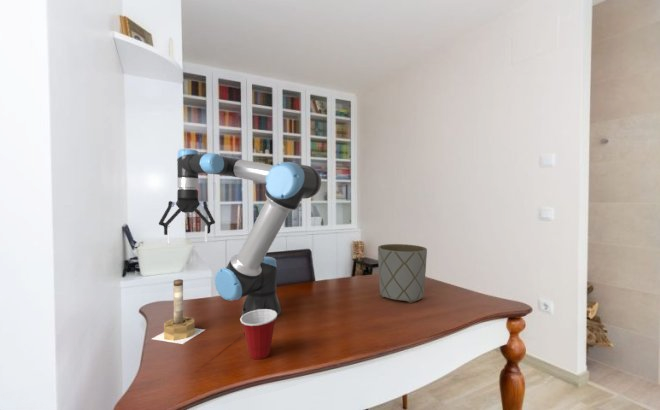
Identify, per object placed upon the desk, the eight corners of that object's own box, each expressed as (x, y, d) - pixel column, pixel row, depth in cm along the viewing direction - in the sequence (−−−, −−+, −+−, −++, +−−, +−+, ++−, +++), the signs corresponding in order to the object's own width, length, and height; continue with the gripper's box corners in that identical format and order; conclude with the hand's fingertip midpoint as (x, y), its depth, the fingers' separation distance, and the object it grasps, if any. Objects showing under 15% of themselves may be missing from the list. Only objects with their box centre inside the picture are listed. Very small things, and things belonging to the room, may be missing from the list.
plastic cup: (234, 352, 95) (234, 313, 94) (267, 343, 101) (267, 306, 101) (248, 368, 86) (248, 325, 86) (283, 356, 93) (283, 316, 92)
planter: (431, 294, 154) (432, 246, 154) (417, 307, 135) (418, 253, 134) (388, 286, 166) (388, 242, 166) (369, 298, 147) (370, 248, 147)
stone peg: (185, 332, 106) (184, 279, 105) (179, 336, 103) (178, 281, 103) (178, 331, 107) (177, 279, 106) (171, 335, 104) (171, 281, 103)
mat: (205, 332, 109) (205, 329, 108) (182, 347, 98) (182, 343, 98) (176, 328, 112) (176, 325, 112) (151, 341, 101) (151, 338, 101)
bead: (199, 330, 108) (199, 318, 108) (180, 341, 99) (180, 329, 99) (178, 327, 110) (177, 315, 110) (157, 338, 102) (157, 325, 102)
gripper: (219, 189, 134) (219, 239, 134) (152, 188, 122) (152, 242, 123) (222, 189, 127) (222, 242, 127) (151, 188, 115) (151, 245, 116)
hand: (187, 242), depth 125 cm, fingers open, 13 cm apart
